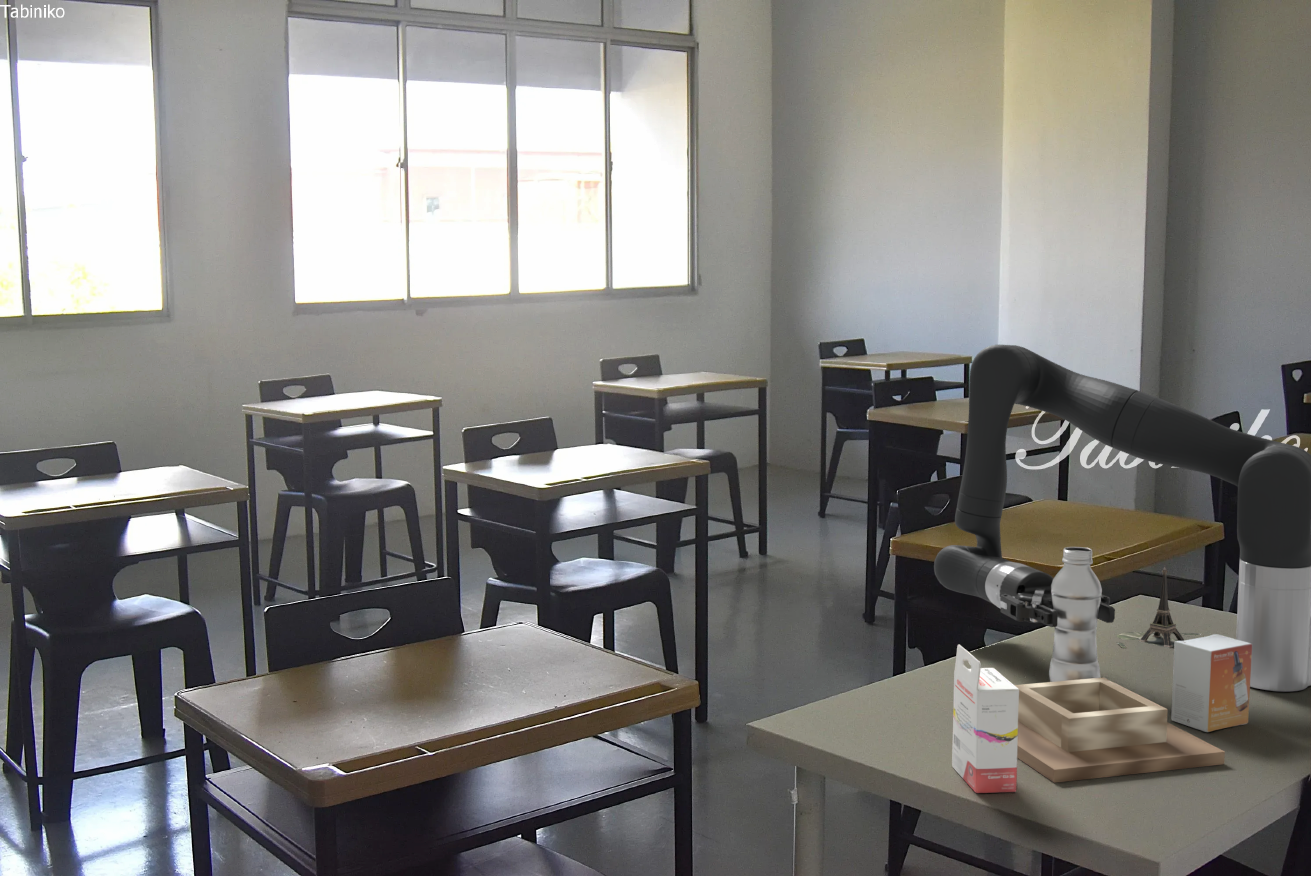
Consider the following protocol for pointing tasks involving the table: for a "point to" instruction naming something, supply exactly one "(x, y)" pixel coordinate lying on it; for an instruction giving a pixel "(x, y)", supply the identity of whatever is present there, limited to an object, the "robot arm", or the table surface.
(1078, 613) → the silver metal bottle
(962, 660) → the ink cartridge box
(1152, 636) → the eiffel tower figurine
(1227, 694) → the small box
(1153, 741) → the socket board
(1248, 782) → the table surface
